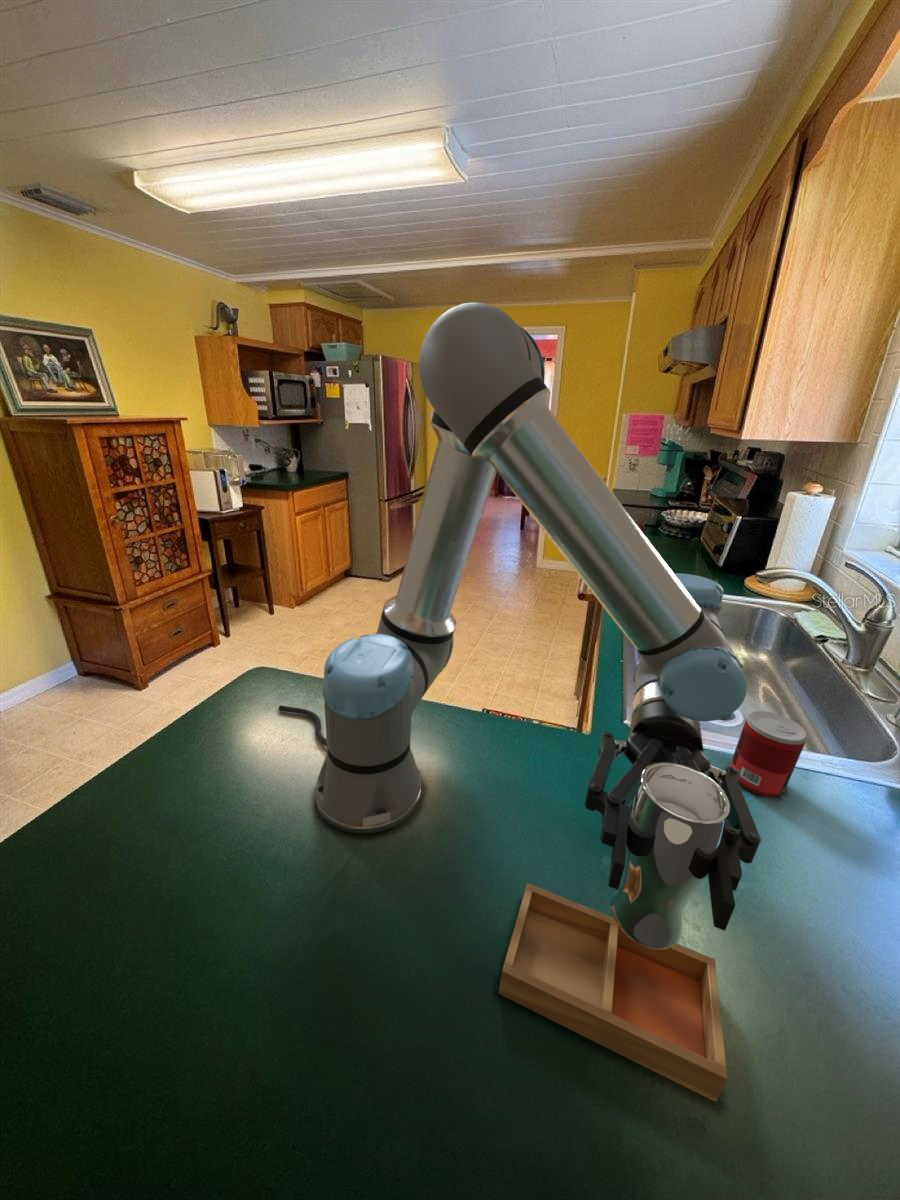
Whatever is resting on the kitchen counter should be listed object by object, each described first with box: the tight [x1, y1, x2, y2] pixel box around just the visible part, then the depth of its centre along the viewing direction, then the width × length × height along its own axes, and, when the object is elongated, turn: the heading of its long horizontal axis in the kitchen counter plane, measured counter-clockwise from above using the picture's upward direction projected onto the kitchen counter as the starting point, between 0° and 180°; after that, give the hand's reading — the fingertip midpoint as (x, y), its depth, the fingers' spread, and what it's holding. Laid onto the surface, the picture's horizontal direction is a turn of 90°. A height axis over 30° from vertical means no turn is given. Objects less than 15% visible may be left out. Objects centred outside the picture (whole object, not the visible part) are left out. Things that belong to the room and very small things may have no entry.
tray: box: [498, 882, 729, 1103], centre depth 47 cm, size 10×19×4 cm, turn 67°
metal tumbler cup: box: [610, 762, 730, 950], centre depth 41 cm, size 7×7×15 cm
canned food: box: [729, 710, 808, 797], centre depth 75 cm, size 8×8×11 cm
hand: (668, 895), depth 36 cm, fingers closed on metal tumbler cup, 7 cm apart
